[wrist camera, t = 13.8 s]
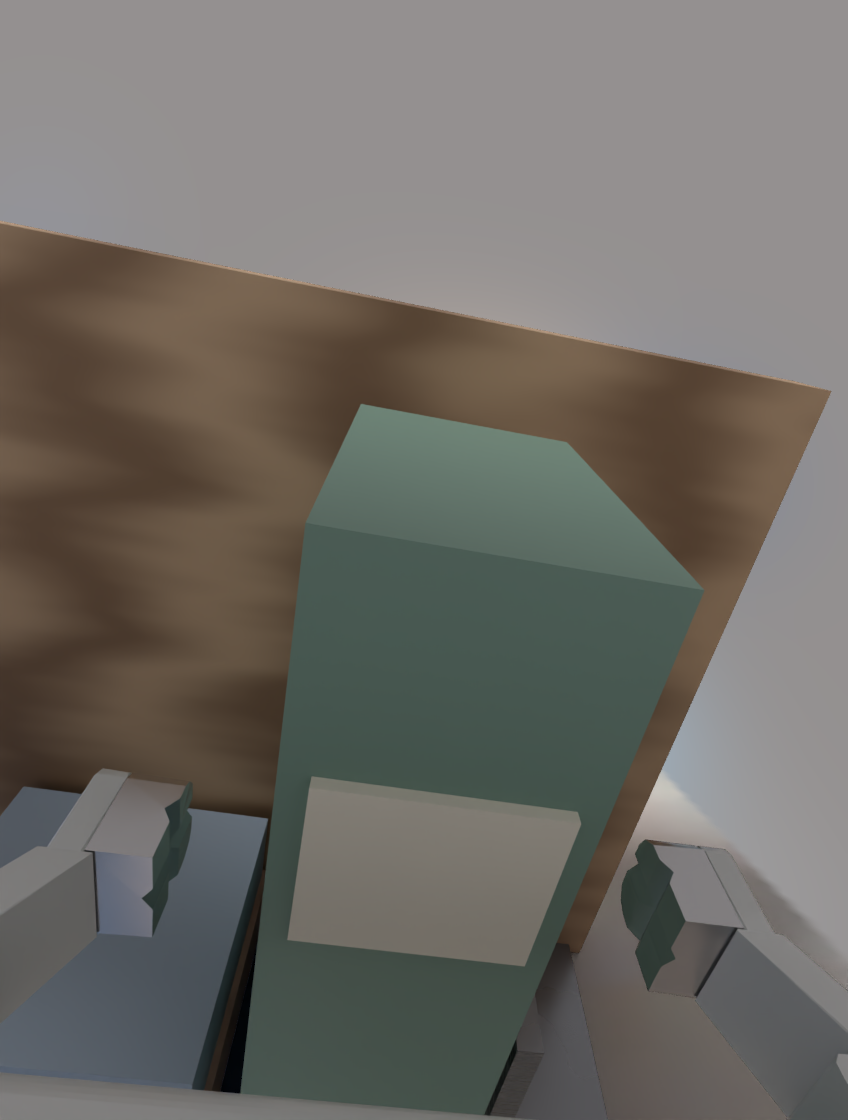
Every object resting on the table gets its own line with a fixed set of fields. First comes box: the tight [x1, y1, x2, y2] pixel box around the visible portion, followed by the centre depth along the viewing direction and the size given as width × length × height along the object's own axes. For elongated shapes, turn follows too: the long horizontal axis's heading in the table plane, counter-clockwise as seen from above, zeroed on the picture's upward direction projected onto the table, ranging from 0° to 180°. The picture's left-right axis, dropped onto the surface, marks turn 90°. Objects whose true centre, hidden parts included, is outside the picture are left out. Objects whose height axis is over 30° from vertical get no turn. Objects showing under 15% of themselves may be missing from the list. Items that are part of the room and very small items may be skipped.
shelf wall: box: [0, 221, 831, 953], centre depth 18 cm, size 20×2×20 cm, turn 90°
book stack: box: [0, 787, 268, 1092], centre depth 16 cm, size 8×7×5 cm
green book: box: [240, 404, 705, 1115], centre depth 13 cm, size 4×7×18 cm, turn 1°
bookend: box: [484, 943, 608, 1120], centre depth 18 cm, size 4×6×6 cm, turn 0°
